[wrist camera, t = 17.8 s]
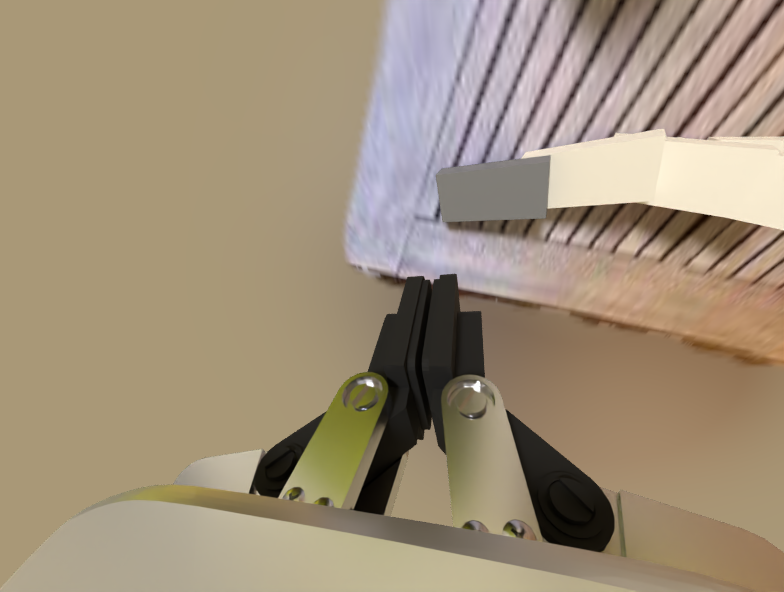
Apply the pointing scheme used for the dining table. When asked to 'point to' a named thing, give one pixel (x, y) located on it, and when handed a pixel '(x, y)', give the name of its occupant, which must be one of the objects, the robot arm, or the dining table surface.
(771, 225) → the ivory domino
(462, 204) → the slate domino
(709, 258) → the dining table surface
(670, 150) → the ivory domino
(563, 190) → the ivory domino
